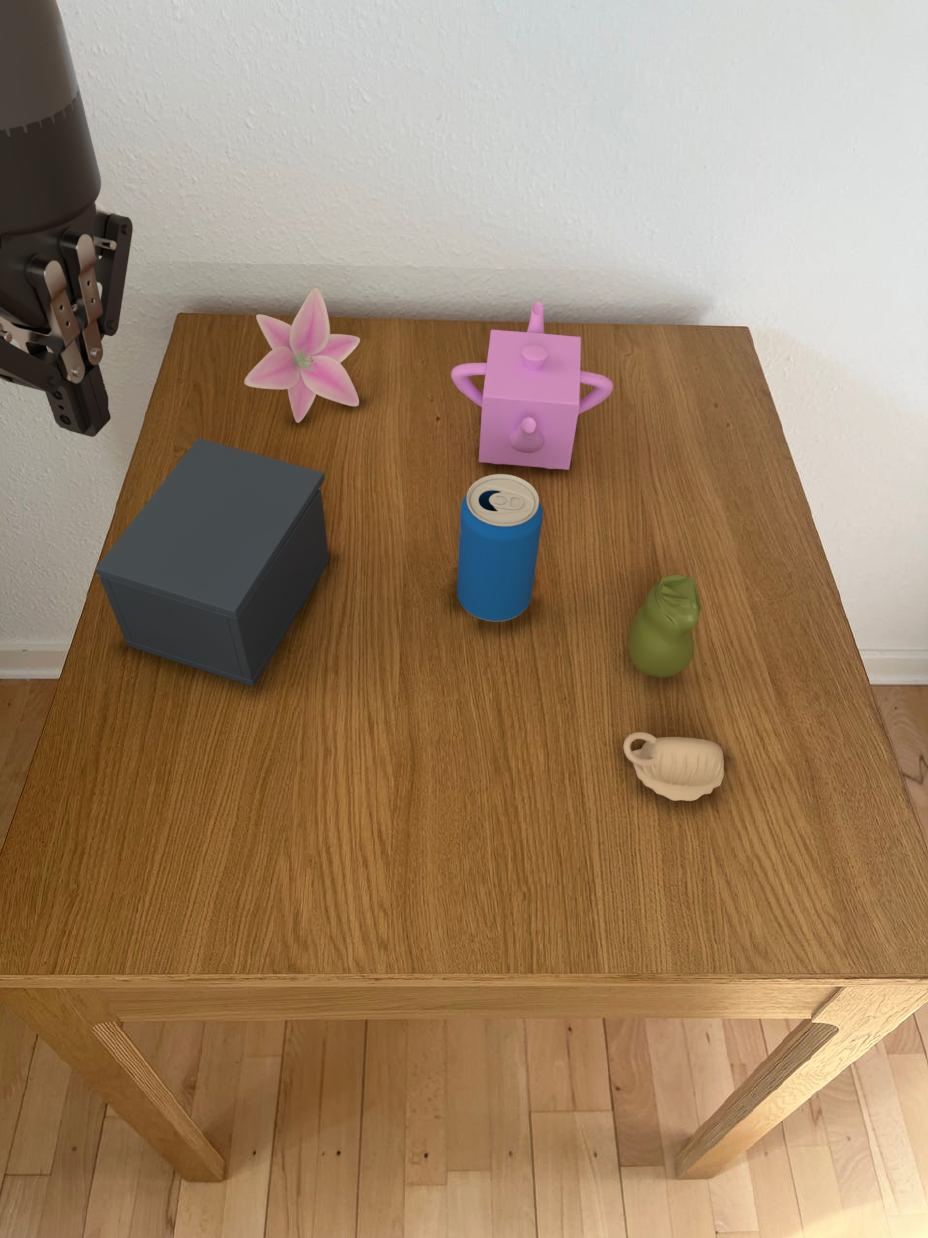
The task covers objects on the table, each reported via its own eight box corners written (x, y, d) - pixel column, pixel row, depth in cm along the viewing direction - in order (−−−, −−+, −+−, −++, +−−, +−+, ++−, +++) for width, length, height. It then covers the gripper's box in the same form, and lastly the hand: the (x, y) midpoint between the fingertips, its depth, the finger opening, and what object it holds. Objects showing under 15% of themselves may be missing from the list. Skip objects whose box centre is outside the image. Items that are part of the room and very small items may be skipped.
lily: (233, 427, 96) (250, 382, 88) (238, 326, 100) (255, 273, 91) (347, 445, 101) (373, 404, 92) (348, 348, 104) (374, 299, 96)
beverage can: (462, 566, 84) (467, 465, 75) (533, 575, 84) (547, 475, 75) (451, 621, 80) (455, 523, 71) (527, 631, 80) (540, 533, 71)
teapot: (427, 423, 96) (428, 332, 88) (530, 379, 101) (540, 288, 93) (518, 512, 89) (529, 422, 80) (624, 459, 94) (645, 369, 86)
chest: (213, 527, 86) (195, 454, 79) (329, 561, 84) (321, 489, 77) (126, 646, 78) (98, 575, 71) (253, 687, 76) (236, 619, 69)
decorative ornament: (723, 806, 70) (743, 770, 66) (612, 793, 71) (624, 757, 66) (720, 759, 73) (739, 722, 69) (612, 746, 73) (624, 709, 69)
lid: (199, 444, 80) (197, 437, 79) (325, 479, 77) (324, 472, 77) (98, 575, 71) (94, 568, 70) (236, 618, 69) (234, 611, 68)
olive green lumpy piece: (620, 635, 80) (641, 555, 72) (682, 638, 80) (710, 559, 72) (625, 689, 77) (648, 612, 69) (690, 692, 77) (720, 615, 69)
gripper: (-47, 172, 33) (80, 523, 47) (147, 44, 41) (208, 373, 55) (-224, 131, 34) (-51, 485, 48) (-1, 15, 43) (94, 344, 56)
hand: (87, 425), depth 51 cm, fingers closed
